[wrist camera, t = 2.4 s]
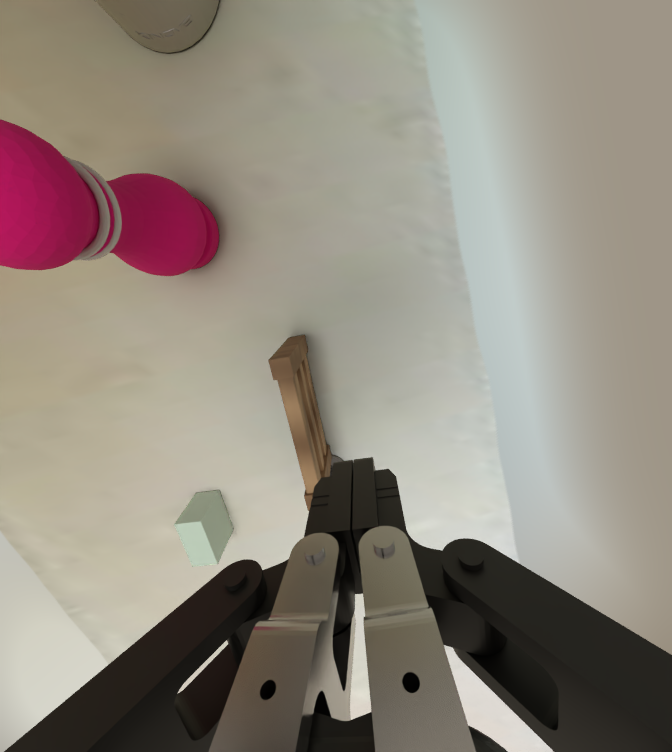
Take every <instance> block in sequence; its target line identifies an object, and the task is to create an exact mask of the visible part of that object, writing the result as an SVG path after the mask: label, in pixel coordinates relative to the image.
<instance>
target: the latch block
mask: <svg viewBox="0 0 672 752" xmlns="http://www.w3.org/2000/svg"><path fill="white" fill-rule="evenodd" d="M174 525H175V527H176V530H177V532H178V534H179V537H180V539H181V541H182V544H183V546H184V548H185V551H186V553H187V555H188V558H189V560H190V562H191V564H192V567H195V566H205V565H214V564H218V562H219V560H220V558H221V556H222V554H223V551H224V549H225V547H226V545H227V543H228V540H229V538H230V536H231V534H232V532H233V526H232V524H231V521H230V518H229V515H228V513H227V510H226V507H225V504H224V501H223V499H222V496H221V493H220V490H215V491H208V492H200V493H196V494H195V495H194V497H193V498H192V499H191V501H190V502H189V504H188V505H187V507H186V508H185V510H184V511H183V512H182V514H181V515H180V517H179V518H178V520H177V521H176V523H175V524H174Z"/></svg>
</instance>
